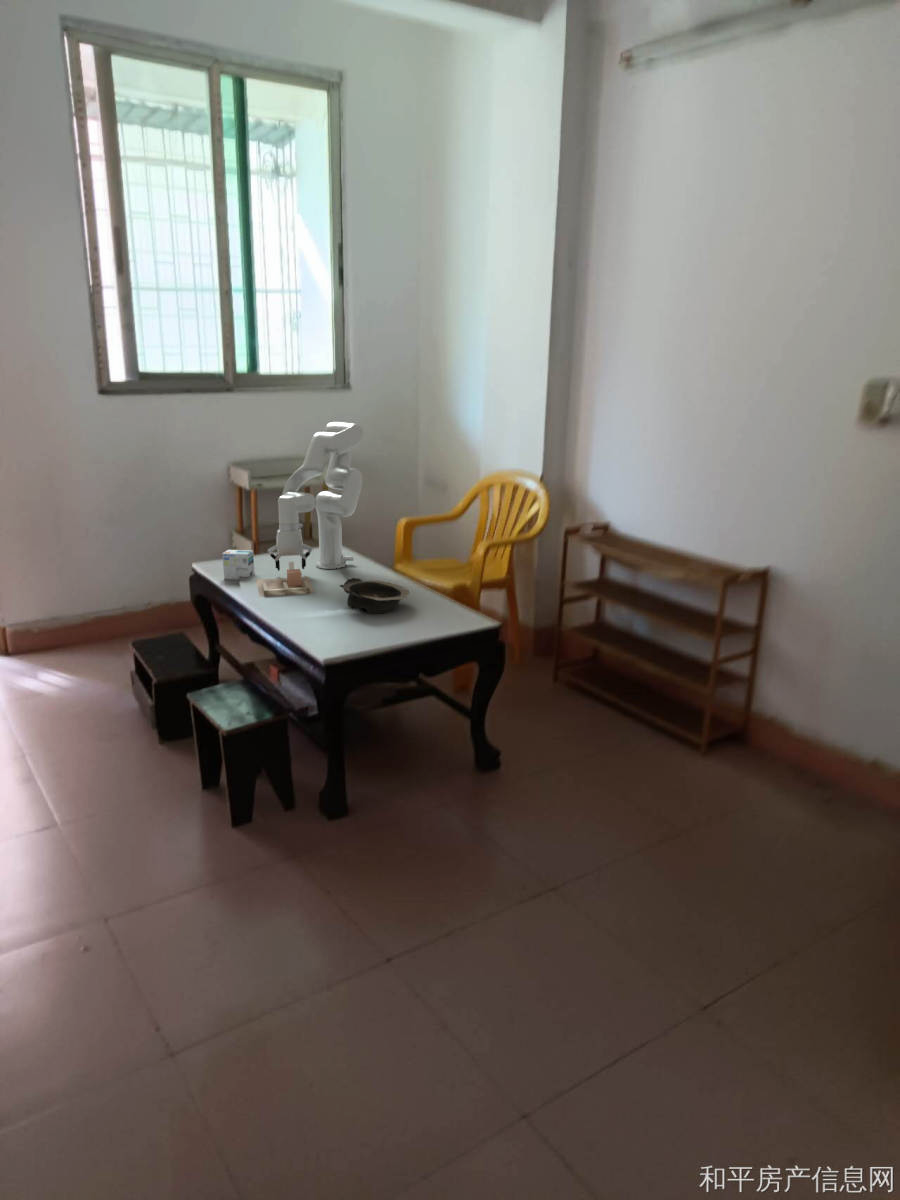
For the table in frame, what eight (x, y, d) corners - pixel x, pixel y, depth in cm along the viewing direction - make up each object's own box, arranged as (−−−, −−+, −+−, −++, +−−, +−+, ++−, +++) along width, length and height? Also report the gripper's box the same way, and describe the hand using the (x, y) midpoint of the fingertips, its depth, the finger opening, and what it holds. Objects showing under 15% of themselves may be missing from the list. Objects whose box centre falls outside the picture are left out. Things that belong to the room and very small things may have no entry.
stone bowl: (325, 608, 294) (326, 582, 292) (373, 597, 314) (373, 573, 311) (377, 622, 280) (378, 595, 278) (423, 609, 299) (424, 584, 297)
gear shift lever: (298, 576, 328) (297, 561, 326) (301, 584, 316) (301, 569, 314) (285, 576, 326) (284, 562, 324) (288, 585, 315) (288, 570, 313)
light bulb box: (255, 575, 333) (253, 549, 329) (249, 580, 326) (248, 554, 323) (229, 574, 333) (227, 548, 330) (223, 579, 327) (221, 553, 324)
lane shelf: (307, 580, 327) (307, 571, 326) (314, 596, 307) (314, 587, 306) (256, 583, 322) (255, 574, 321) (259, 600, 302) (259, 591, 301)
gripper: (310, 523, 328) (311, 565, 333) (265, 525, 323) (268, 567, 329) (312, 528, 321) (313, 570, 326) (267, 530, 317) (269, 573, 322)
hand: (290, 569), depth 328 cm, fingers open, 9 cm apart
